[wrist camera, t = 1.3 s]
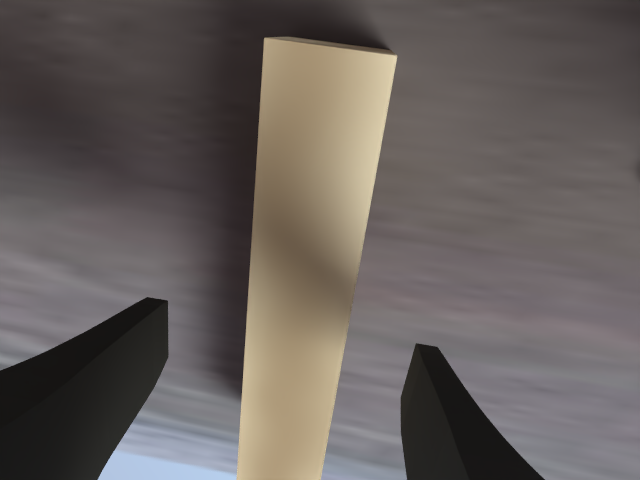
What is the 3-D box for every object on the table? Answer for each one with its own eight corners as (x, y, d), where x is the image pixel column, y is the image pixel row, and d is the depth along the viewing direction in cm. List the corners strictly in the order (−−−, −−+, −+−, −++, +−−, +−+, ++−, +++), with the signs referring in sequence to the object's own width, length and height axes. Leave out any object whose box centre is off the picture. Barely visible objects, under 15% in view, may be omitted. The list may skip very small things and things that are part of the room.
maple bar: (390, 49, 14) (397, 55, 11) (326, 417, 21) (317, 497, 17) (291, 36, 14) (264, 37, 11) (259, 406, 21) (236, 482, 18)
